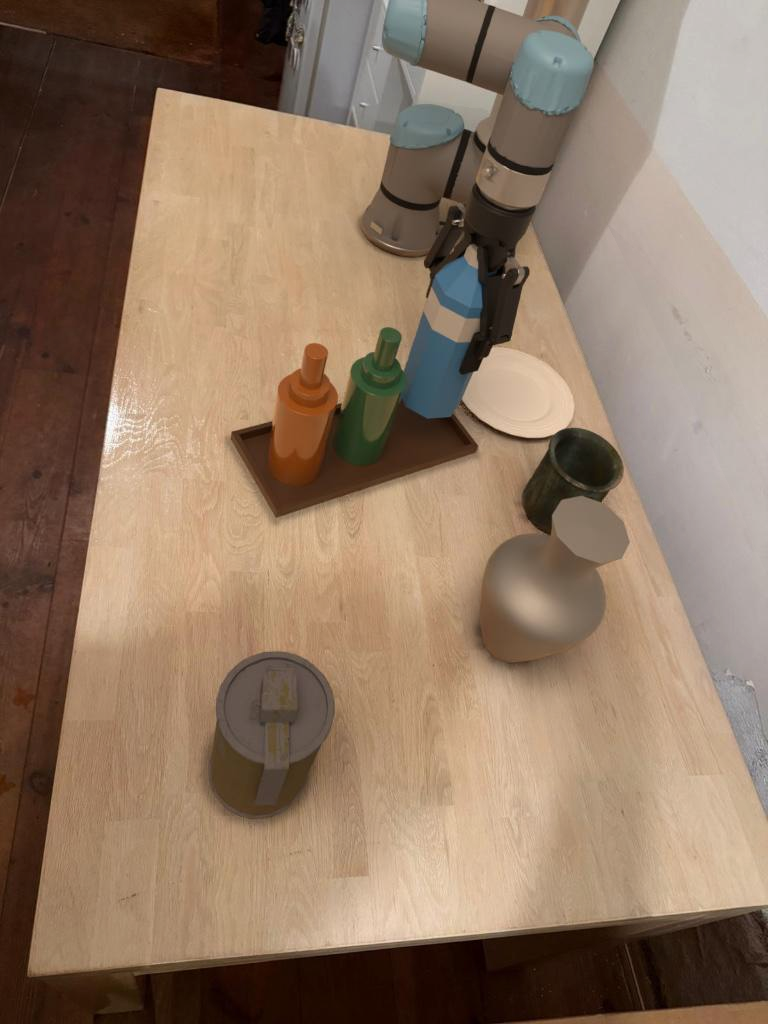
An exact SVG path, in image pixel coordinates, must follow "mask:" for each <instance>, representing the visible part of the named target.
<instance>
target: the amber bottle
mask: <svg viewBox="0 0 768 1024" xmlns="http://www.w3.org/2000/svg"><path fill="white" fill-rule="evenodd" d="M303 351H304V352H303V357H302V363H301V367H300V368H297V369H296V370H294V371H293V372H292V373H290V374H287V375H286V376H284V377H283V378H282V379H281V380H280V382H279V383H278V385H277V391H276V398H275V404H274V410H273V418H272V421H273V423H272V430H271V436H270V443H269V449H268V456H267V467H268V470H269V472H270V473H271V475H272V476H273V477H274V478H275V479H277V480H278V481H280V482H282V483H284V484H287V485H292V486H302V485H307V484H309V483H311V482H313V481H314V480H315V479H316V478H317V477H318V476H319V474H320V471H321V467H322V463H323V459H324V455H325V451H326V447H327V443H328V439H329V435H330V431H331V426H332V422H333V418H334V414H335V410H336V406H337V404H338V401H339V394H338V391H337V389H336V387H335V385H334V384H333V383H332V382H331V380H330V379H329V376H328V375H326V374H325V371H326V366H327V361H328V356H329V350H328V349H327V347H326V346H324V345H323V344H322V343H318V342H312V343H307V345H305V347H304V350H303Z"/></svg>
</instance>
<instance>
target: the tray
mask: <svg viewBox="0 0 768 1024" xmlns="http://www.w3.org/2000/svg"><path fill="white" fill-rule="evenodd" d="M341 406H342V402H341V403H337V406H336V410H335V414H334V418H333V422H332V426H331V431H330V435H329V439H328V443H327V447H326V451H325V455H324V459H323V463H322V467H321V471H320V474H319V476H318V477H317V478H316V479H315V480H314V481H313V482H311V483H309V484H307V485H302V486H292V485H287V484H284V483H282V482H280V481H278V480H277V479H275V478H274V477H273V476H272V475H271V473H270V472H269V470H268V467H267V456H268V449H269V443H270V436H271V430H272V423H273V420H271V421H267V422H264V423H259V424H256V425H252V426H248V427H244V428H240V429H236V430H232V431H231V432H230V441H231V442H232V444H233V445H234V447H235V449H236V451H237V453H238V454H239V456H240V458H241V460H242V461H243V463H244V465H245V466H246V468H247V470H248V472H249V474H250V475H251V477H252V479H253V480H254V482H255V484H256V485H257V487H258V489H259V491H260V493H261V494H262V496H263V498H264V500H265V502H267V505H268V507H269V509H270V510H271V512H272V514H273V515H274V517H275V518H281V517H283V516H286V515H288V514H289V515H290V514H292V513H294V512H298V511H300V510H304V509H307V508H310V507H314V506H316V505H319V504H323V503H325V502H328V501H331V500H335V499H338V498H341V497H343V496H344V497H345V496H346V495H350V494H354V493H356V492H360V491H362V490H365V489H368V488H371V487H375V486H378V485H380V484H383V483H386V482H390V481H393V480H396V479H398V478H403V477H405V476H408V475H411V474H414V473H417V472H420V471H423V470H426V469H429V468H432V467H436V466H439V465H441V464H445V463H447V462H451V461H454V460H457V459H460V458H463V457H467V456H469V455H472V454H476V452H477V451H478V448H479V445H478V443H477V442H476V441H475V439H474V438H473V437H472V435H471V434H470V433H469V432H468V430H467V429H466V428H465V426H464V425H463V424H462V423H461V421H460V420H459V418H458V417H457V416H456V414H455V413H454V412H453V414H452V415H451V416H450V417H442V418H425V417H424V416H422V415H420V414H418V413H416V412H415V411H413V410H411V409H409V408H407V407H406V406H405V404H404V402H403V399H401V402H400V405H399V408H398V411H397V414H396V417H395V420H394V423H393V426H392V429H391V432H390V435H389V438H388V441H387V444H386V447H385V449H384V452H383V455H382V457H381V458H380V459H379V460H378V461H377V462H375V463H374V464H371V465H366V466H360V465H354V464H351V463H348V462H346V461H345V460H343V459H342V458H340V457H339V456H338V454H337V453H336V452H335V450H334V447H333V437H334V433H335V429H336V426H337V422H338V418H339V414H340V410H341Z"/></svg>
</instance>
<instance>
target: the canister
mask: <svg viewBox="0 0 768 1024" xmlns="http://www.w3.org/2000/svg"><path fill="white" fill-rule="evenodd" d="M335 712H336V701H335V697H334V693H333V690H332V687H331V685H330V682H329V680H328V679H327V678H326V676H325V674H324V673H323V672H322V671H321V670H320V669H319V668H318V667H317V666H316V665H315V664H314V663H312V662H311V661H309V660H308V659H306V658H304V657H302V656H301V655H298V654H295V653H291V652H287V651H277V650H276V651H275V650H274V651H273V650H272V651H262V652H260V653H256V654H252V655H251V656H248V657H246V658H244V659H243V660H241V661H240V662H238V663H237V664H235V665H234V666H233V668H232V669H230V670H229V672H228V673H227V674H226V676H225V678H224V679H223V681H222V682H221V684H220V686H219V689H218V691H217V696H216V700H215V715H216V722H215V729H214V737H213V738H214V739H213V744H212V745H213V746H212V751H211V754H210V758H209V761H208V777H209V784H210V788H211V789H212V792H213V794H214V796H215V798H216V799H217V800H218V802H220V803H221V805H222V806H223V807H224V808H226V809H227V810H228V811H229V812H231V813H233V814H235V815H237V816H239V817H242V818H247V819H250V820H254V819H255V820H256V819H266V818H272V817H275V816H277V815H279V814H281V813H282V812H284V811H285V810H287V809H289V808H290V807H292V806H293V804H295V802H296V801H297V800H298V799H299V798H300V796H301V794H302V793H303V791H304V789H305V786H306V783H307V780H308V776H309V773H310V770H311V768H312V766H313V764H314V761H315V760H316V758H317V755H318V754H319V752H320V749H321V746H322V745H323V743H324V742H325V740H326V739H327V738H328V736H329V734H330V732H331V729H332V727H333V724H334V719H335V714H336V713H335Z"/></svg>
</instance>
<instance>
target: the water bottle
mask: <svg viewBox="0 0 768 1024" xmlns="http://www.w3.org/2000/svg"><path fill="white" fill-rule="evenodd" d="M477 249H478V247H477V246H476V244H470V245H469V246H468V247H467V249H466V252H465V254H464V255H462V256H461V257H459V258H458V259H456V260H454V261H452V262H450V263H448V264H446V265H445V266H444V267H443V268H442V269H441V270H440V271H439V272H438V273H437V274H436V275H435V278H434V281H433V284H432V287H431V290H430V293H429V296H428V299H427V298H426V301H427V302H426V301H425V304H426V305H425V304H424V307H425V308H423V310H424V311H422V313H423V314H421V317H420V319H419V323H418V326H417V329H416V332H415V335H414V339H413V342H412V344H411V348H410V351H409V354H408V357H407V360H406V363H405V366H404V369H403V371H404V373H405V375H406V379H407V384H406V387H405V390H404V393H403V396H402V399H403V402H404V404H405V406H406V407H407V408H409V409H411V410H413V411H415V412H416V413H418V414H420V415H422V416H424V417H425V418H442V417H450V416H451V415H452V414H453V413H454V412H455V411H456V409H458V407H459V406H460V404H461V402H462V397H463V395H464V393H465V390H466V388H467V386H468V383H469V381H470V379H471V376H472V374H473V372H471V373H468V374H464V375H461V373H460V372H459V369H460V367H461V364H462V362H463V359H464V357H465V354H466V352H467V349H468V347H469V345H470V342H471V340H472V337H473V335H474V333H476V332H480V312H481V310H482V289H481V283H479V282H478V260H477ZM496 272H497V271H494V272H489V273H488V275H493V274H495V273H496ZM491 328H492V327H491Z"/></svg>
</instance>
